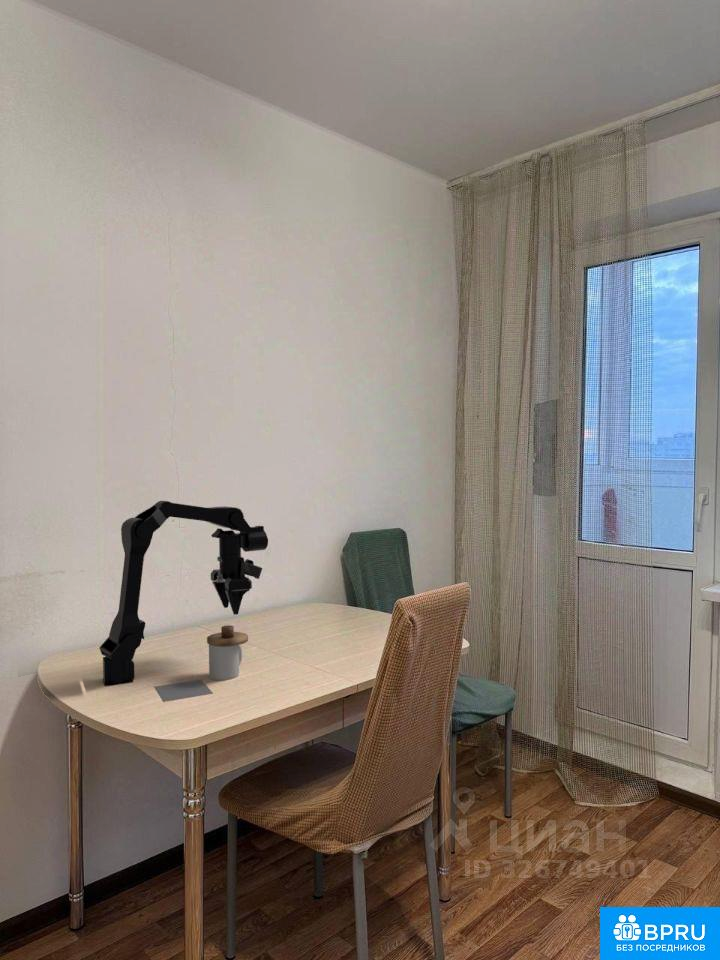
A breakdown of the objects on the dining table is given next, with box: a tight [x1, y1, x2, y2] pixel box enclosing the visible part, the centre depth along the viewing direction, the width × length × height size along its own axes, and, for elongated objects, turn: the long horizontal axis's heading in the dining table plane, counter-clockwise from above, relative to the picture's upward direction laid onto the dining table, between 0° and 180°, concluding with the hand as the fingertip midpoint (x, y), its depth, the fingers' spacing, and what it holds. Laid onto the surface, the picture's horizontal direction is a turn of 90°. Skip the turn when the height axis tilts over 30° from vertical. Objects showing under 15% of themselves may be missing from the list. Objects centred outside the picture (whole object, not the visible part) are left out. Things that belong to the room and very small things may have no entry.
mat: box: [154, 678, 214, 703], centre depth 155 cm, size 11×11×1 cm
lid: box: [206, 624, 249, 647], centre depth 167 cm, size 10×10×4 cm
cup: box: [208, 644, 243, 681], centre depth 167 cm, size 7×10×9 cm
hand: (230, 610), depth 181 cm, fingers open, 9 cm apart
